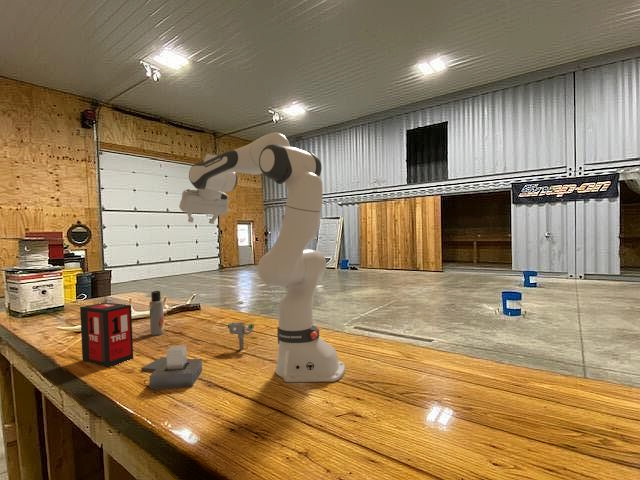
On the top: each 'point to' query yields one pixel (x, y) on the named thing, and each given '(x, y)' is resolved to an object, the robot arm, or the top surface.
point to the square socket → (176, 375)
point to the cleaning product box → (106, 333)
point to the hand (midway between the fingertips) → (201, 222)
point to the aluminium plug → (176, 358)
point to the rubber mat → (154, 365)
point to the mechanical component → (240, 331)
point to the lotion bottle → (156, 314)
